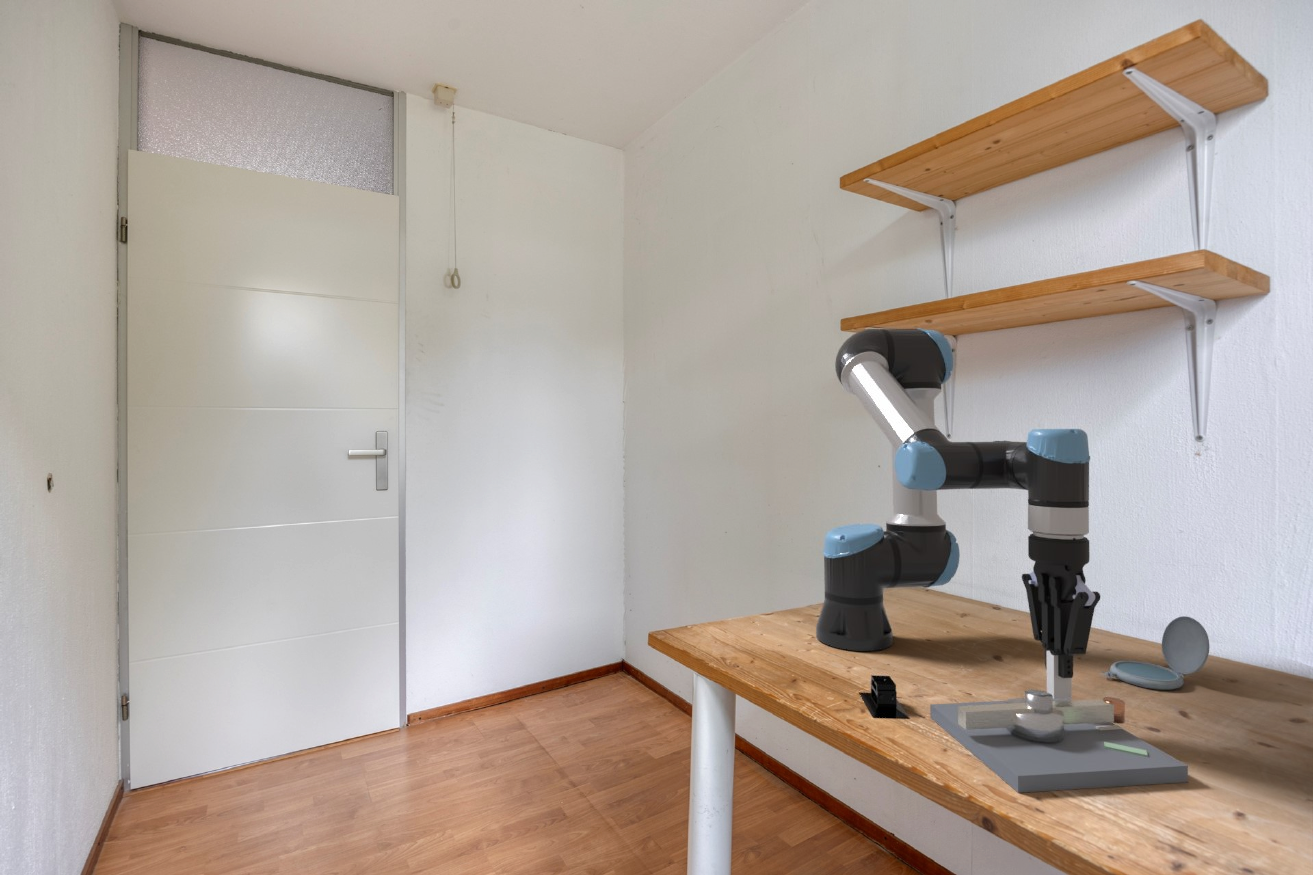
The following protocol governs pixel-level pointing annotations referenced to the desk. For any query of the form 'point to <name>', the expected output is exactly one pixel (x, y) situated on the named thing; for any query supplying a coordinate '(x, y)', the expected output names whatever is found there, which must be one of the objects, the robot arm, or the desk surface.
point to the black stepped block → (883, 699)
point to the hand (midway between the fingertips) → (1059, 696)
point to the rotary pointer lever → (1040, 715)
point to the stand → (1064, 755)
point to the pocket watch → (1168, 657)
